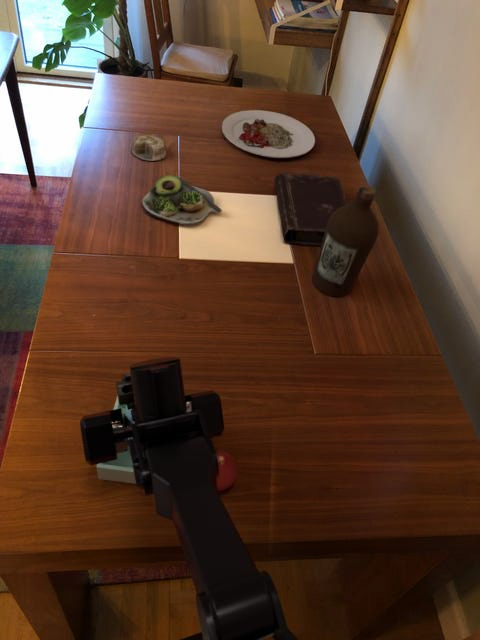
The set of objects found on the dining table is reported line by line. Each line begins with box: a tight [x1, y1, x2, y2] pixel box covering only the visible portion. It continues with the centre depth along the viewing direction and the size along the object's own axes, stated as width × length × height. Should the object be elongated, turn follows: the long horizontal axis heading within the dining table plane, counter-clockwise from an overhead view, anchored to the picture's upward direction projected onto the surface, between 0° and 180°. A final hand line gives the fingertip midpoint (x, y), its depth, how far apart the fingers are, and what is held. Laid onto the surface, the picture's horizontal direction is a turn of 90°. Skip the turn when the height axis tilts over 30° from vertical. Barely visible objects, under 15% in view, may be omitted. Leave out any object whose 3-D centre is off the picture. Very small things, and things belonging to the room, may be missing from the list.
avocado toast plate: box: [140, 174, 223, 226], centre depth 120 cm, size 19×18×5 cm
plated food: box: [221, 109, 316, 159], centre depth 151 cm, size 30×30×3 cm
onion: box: [215, 449, 238, 492], centre depth 72 cm, size 6×6×8 cm
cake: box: [131, 134, 167, 162], centre depth 135 cm, size 10×10×5 cm
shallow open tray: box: [96, 395, 136, 485], centre depth 75 cm, size 13×12×5 cm
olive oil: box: [311, 184, 380, 298], centre depth 100 cm, size 11×11×25 cm
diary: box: [273, 172, 348, 247], centre depth 124 cm, size 19×25×5 cm
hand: (146, 412), depth 72 cm, fingers closed on water bottle, 6 cm apart
